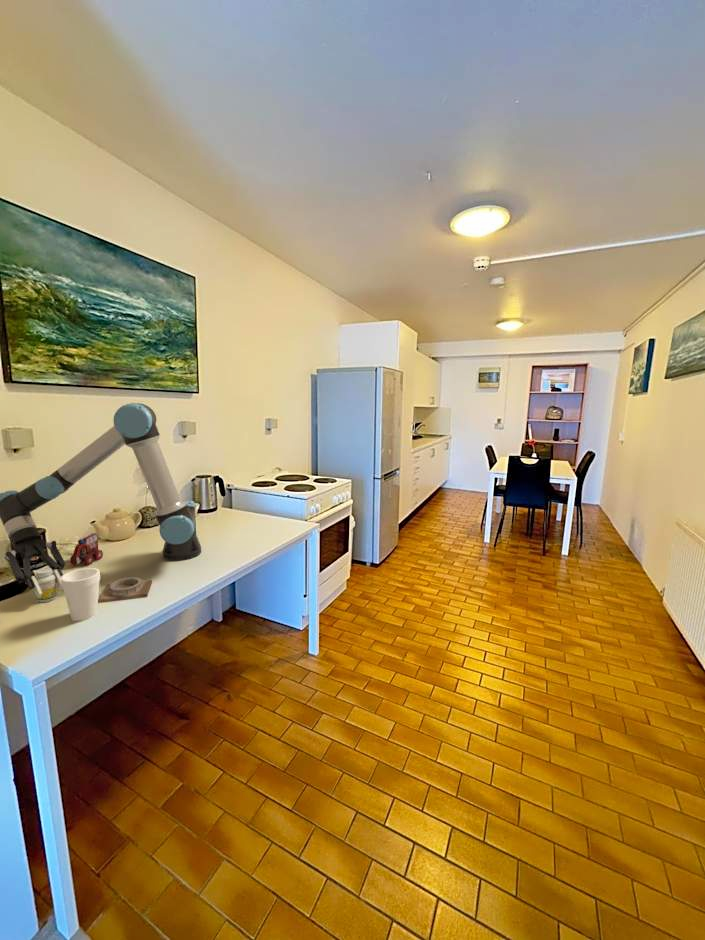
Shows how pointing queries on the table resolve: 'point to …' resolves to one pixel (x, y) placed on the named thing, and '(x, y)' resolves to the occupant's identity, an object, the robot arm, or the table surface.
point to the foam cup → (81, 592)
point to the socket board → (125, 589)
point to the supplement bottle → (46, 585)
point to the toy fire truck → (86, 551)
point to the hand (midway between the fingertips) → (51, 591)
